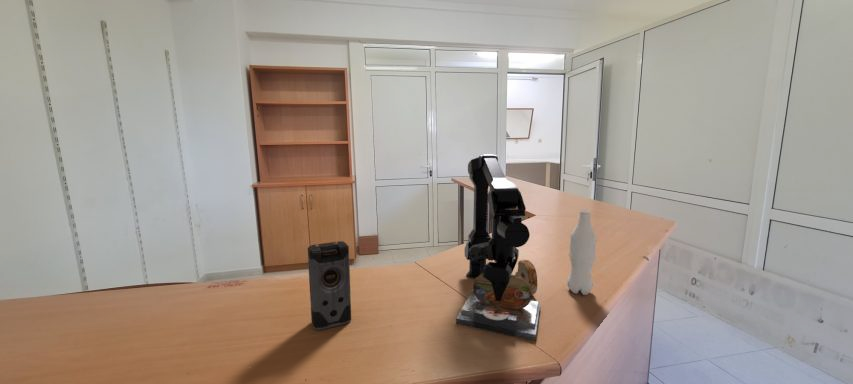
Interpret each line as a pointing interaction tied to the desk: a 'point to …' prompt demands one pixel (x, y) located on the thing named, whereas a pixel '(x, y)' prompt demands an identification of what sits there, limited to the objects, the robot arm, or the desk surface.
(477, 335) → the desk surface
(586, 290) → the water bottle
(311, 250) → the electronic device
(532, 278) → the stone disc
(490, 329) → the dial scale
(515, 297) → the tin
